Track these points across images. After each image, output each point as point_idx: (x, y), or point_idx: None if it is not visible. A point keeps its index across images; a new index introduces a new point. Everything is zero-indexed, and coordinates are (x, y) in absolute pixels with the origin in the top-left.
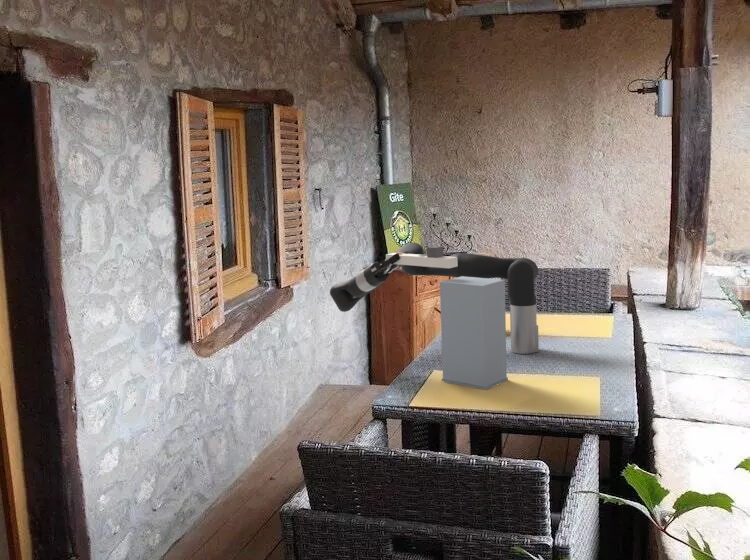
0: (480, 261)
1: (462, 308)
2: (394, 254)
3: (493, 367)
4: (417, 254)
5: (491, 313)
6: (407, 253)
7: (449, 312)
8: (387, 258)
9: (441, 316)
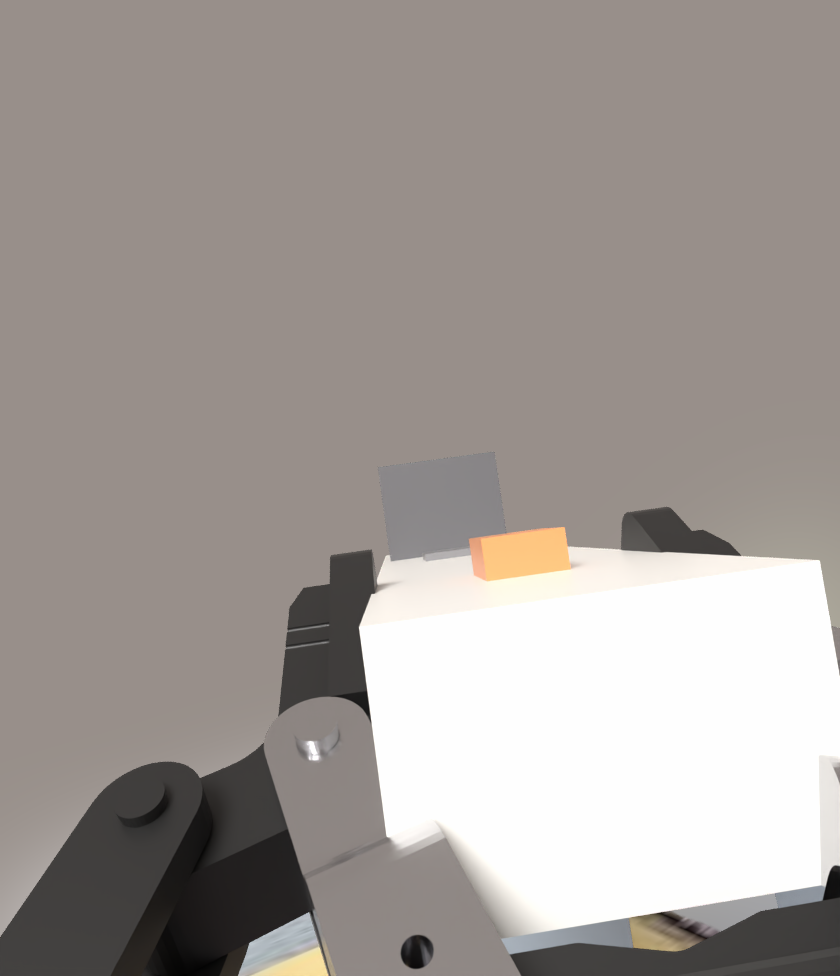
0: None
1: None
2: (608, 566)
3: None
4: (391, 571)
5: None
6: (376, 581)
7: None
8: (836, 639)
9: (629, 932)
